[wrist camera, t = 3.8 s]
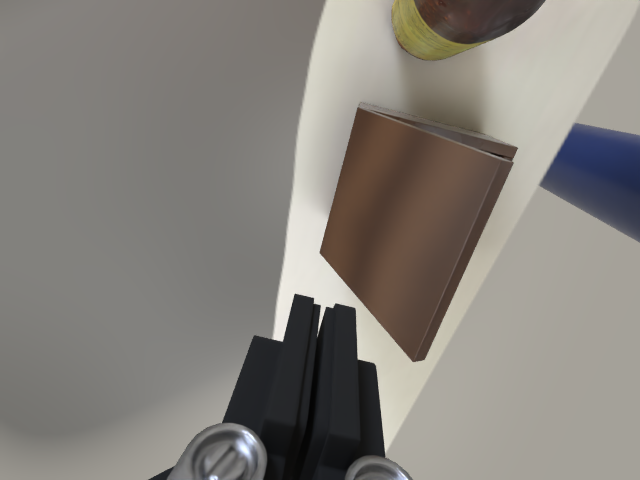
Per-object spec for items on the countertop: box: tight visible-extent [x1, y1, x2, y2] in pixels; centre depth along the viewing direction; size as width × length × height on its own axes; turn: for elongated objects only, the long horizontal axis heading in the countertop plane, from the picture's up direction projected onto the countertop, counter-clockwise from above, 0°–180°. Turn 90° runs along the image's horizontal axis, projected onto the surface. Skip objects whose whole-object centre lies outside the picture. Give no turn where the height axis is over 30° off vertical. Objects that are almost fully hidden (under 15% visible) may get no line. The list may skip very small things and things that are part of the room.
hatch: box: [320, 107, 513, 362], centre depth 21 cm, size 11×10×1 cm
